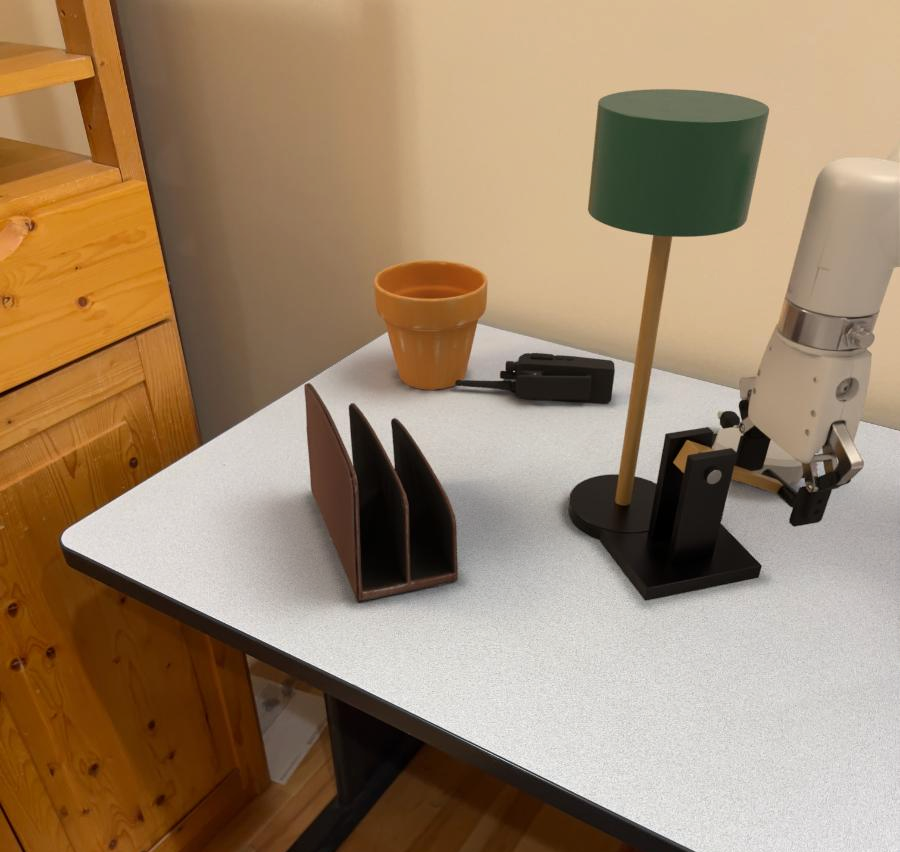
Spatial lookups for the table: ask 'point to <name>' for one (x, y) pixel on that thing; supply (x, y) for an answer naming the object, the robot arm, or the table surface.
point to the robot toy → (775, 455)
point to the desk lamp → (662, 235)
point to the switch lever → (744, 474)
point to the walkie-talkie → (554, 378)
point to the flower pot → (431, 318)
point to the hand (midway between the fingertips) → (774, 495)
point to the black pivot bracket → (685, 526)
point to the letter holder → (380, 506)
